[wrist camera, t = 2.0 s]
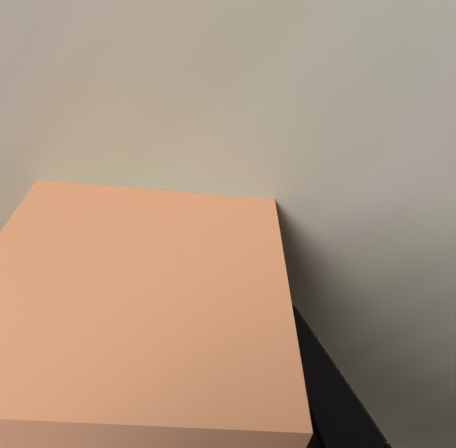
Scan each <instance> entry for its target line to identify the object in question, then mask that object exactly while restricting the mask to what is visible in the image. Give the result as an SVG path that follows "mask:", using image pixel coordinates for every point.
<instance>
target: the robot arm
mask: <svg viewBox="0 0 456 448" xmlns="http://www.w3.org/2000/svg"><path fill="white" fill-rule="evenodd" d="M292 308H293V314H294V320H295V326H296V332H297V338H298V345H299V351H300V357H301V363H302V369H303V375H304V381H305V388H306V394H307V400H308V406H309V412H310V418H311V424H312V430H313V434H312V436H311V439H310V441H309V443H308V445H307V447H306V448H392V447H391V446H390V444H388V443H386V439H385V437H384V436H383V434H382V433H381V431H380V430H379V428H378V427H377V425H376V424H375V422H374V421H373V420H372V418H371V417H370V415H369V414H368V412H367V411H366V409H365V408H364V406H363V405H362V403H361V402H360V400H359V399H358V398H357V396H356V395H355V393H354V392H353V390H352V389H351V387H350V386H349V384H348V383H347V381H346V380H345V379H344V377H343V376H342V374H341V373H340V371H339V370H338V368H337V367H336V365H335V364H334V362H333V361H332V359H331V358H330V357H329V355H328V354H327V352H326V351H325V349H324V348H323V346H322V345H321V343H320V342H319V340H318V339H317V338H316V336H315V335H314V333H313V332H312V330H311V329H310V327H309V326H308V324H307V323H306V321H305V320H304V318H303V317H302V316H301V314H300V313H299V311H298V310H297V308H296V307H295V306H293V305H292Z"/></svg>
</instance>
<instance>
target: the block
mask: <svg viewBox="0 0 456 448" xmlns="http://www.w3.org/2000/svg"><path fill="white" fill-rule="evenodd" d="M312 434H313V430H312V424H311V418H310V412H309V406H308V400H307V394H306V388H305V381H304V375H303V369H302V363H301V357H300V351H299V345H298V338H297V332H296V326H295V320H294V314H293V308H292V302H291V295H290V289H289V283H288V277H287V271H286V265H285V259H284V252H283V246H282V240H281V234H280V228H279V222H278V216H277V209H276V203H275V200H272V199H260V198H248V197H236V196H223V195H211V194H199V193H187V192H175V191H163V190H150V189H138V188H126V187H114V186H102V185H89V184H77V183H65V182H53V181H41V180H36V182H35V183H34V184H33V186H32V187H31V189H30V190H29V192H28V193H27V195H26V196H25V197H24V199H23V200H22V202H21V203H20V205H19V206H18V207H17V209H16V210H15V212H14V213H13V215H12V216H11V217H10V219H9V220H8V222H7V223H6V225H5V226H4V227H3V229H2V230H1V232H0V448H306V447H307V445H308V443H309V441H310V439H311V436H312Z"/></svg>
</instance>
